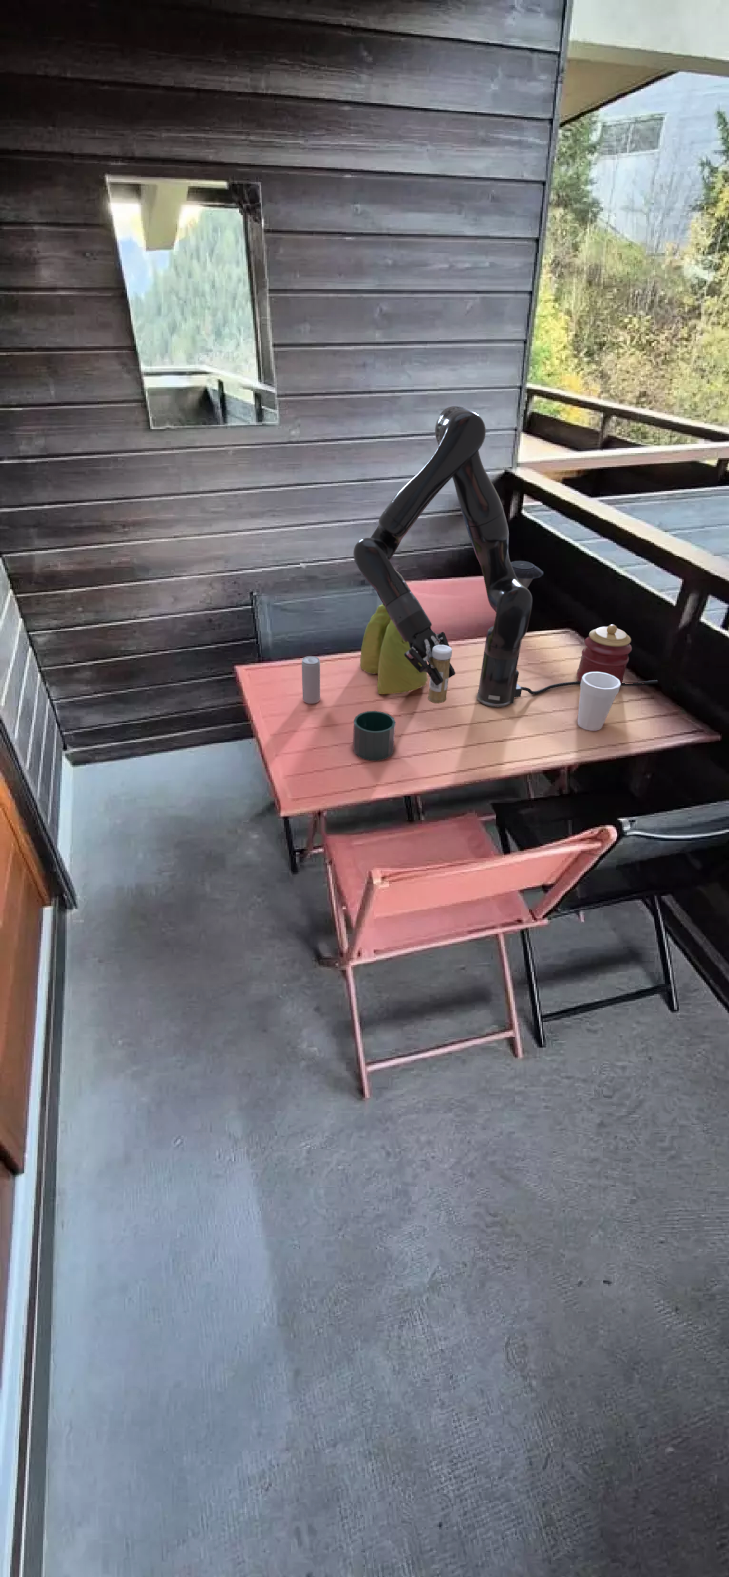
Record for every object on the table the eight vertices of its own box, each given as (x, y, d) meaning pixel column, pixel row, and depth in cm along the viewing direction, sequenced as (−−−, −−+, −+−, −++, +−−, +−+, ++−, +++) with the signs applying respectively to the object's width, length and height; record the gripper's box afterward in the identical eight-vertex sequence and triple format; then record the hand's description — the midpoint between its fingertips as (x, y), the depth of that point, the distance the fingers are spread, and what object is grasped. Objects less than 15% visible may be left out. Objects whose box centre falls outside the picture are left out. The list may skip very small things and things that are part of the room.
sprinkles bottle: (450, 701, 168) (456, 650, 160) (435, 706, 166) (440, 654, 158) (438, 693, 171) (443, 642, 163) (423, 697, 169) (428, 646, 161)
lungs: (434, 694, 194) (443, 612, 180) (382, 702, 190) (386, 618, 176) (402, 655, 213) (408, 578, 199) (354, 661, 209) (356, 582, 194)
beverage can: (306, 706, 187) (306, 665, 180) (299, 698, 190) (298, 657, 183) (323, 702, 189) (323, 662, 182) (315, 694, 192) (315, 654, 185)
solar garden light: (533, 663, 212) (553, 565, 194) (511, 676, 205) (528, 575, 187) (500, 650, 218) (515, 554, 201) (477, 662, 211) (491, 564, 193)
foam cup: (609, 719, 187) (621, 675, 179) (607, 736, 179) (619, 692, 172) (573, 712, 189) (583, 669, 181) (569, 729, 182) (580, 685, 174)
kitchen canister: (626, 679, 205) (642, 623, 195) (613, 697, 196) (630, 639, 186) (583, 667, 211) (597, 612, 200) (569, 684, 202) (582, 627, 191)
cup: (388, 737, 176) (390, 709, 171) (397, 759, 168) (399, 730, 163) (350, 740, 174) (350, 712, 169) (357, 762, 166) (358, 733, 162)
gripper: (399, 618, 155) (439, 684, 156) (436, 600, 164) (473, 663, 165) (379, 633, 161) (418, 697, 162) (416, 615, 170) (452, 675, 171)
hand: (446, 679), depth 164 cm, fingers closed on sprinkles bottle, 4 cm apart
